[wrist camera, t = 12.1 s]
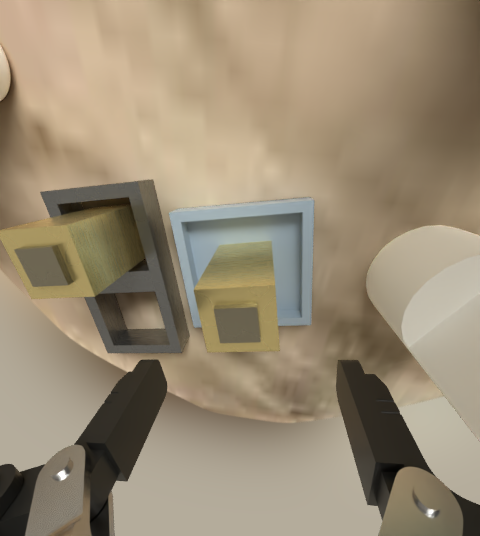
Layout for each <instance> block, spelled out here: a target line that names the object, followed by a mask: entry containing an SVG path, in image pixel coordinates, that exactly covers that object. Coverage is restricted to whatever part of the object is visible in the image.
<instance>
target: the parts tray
mask: <svg viewBox="0 0 480 536" xmlns="http://www.w3.org/2000/svg"><path fill="white" fill-rule="evenodd" d="M169 216H170V220H171V225H172V230H173V234H174V239H175V243H176V248H177V252H178V257H179V261H180V266H181V271H182V275H183V280H184V284H185V289H186V293H187V298H188V303H189V307H190V312H191V316H192V321H193V325H194V327H202V326H201V321H200V317H199V312H198V308H197V304H196V299H195V295H194V288H195V286H196V285H197V283H198V281H199V279H200V278H201V276H202V274H203V272H204V271H205V269H206V267H207V266H208V264H209V262H210V260H211V259H212V257H213V255H214V253H215V252H216V250H217V248H218V246H219V245H225V244H236V243H248V242H260V241H272V252H273V264H274V276H275V288H276V303H277V318H278V326H292V325H311V310H312V269H313V229H314V200H313V199H312V198H311V197H304V198H293V199H282V200H271V201H260V202H249V203H237V204H226V205H215V206H204V207H193V208H182V209H176V210H174V211H172V212H170V213H169Z"/></svg>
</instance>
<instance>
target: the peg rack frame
mask: <svg viewBox="0 0 480 536" xmlns="http://www.w3.org/2000/svg"><path fill="white" fill-rule="evenodd" d="M40 193H41V195H42V198H43V200H44V203H45V205H46V207H47V210H48V212H49V214H50V217H56V216H60V215H64V214H68V213H72V212H76V211H80V210H84V208H83V206H82V203H81V202H85V201H95V200H105V199H115V198H125V197H129V200H130V203H131V207H132V210H133V214H134V218H135V221H136V225H137V228H138V232H139V235H140V239H141V243H142V246H143V250H144V253H145V257H146V260H147V261H141V262H139V263H138V264H137V265H135V266H134V267H133V268H131V269H130V270H129V271H128V272H126V273H125V274H124V275H122V276H121V277H120V278H118V279H117V280H116V281H115V282H113V283H112V284H111V285H109V286H108V287H107V288H105V289H104V290H103V291H102V292H100V293H99V294H98V295H96V296H95V297H84V298H85V300H86V302H87V305H88V307H89V309H90V312H91V314H92V317H93V319H94V321H95V324H96V326H97V328H98V331H99V333H100V336H101V338H102V340H103V343H104V345H105V347H106V350H107V352H108V353H182V351H183V349H184V347H185V345H186V342H187V340H188V338H189V332H188V328H187V323H186V319H185V315H184V311H183V306H182V302H181V298H180V293H179V289H178V285H177V281H176V276H175V272H174V268H173V263H172V259H171V255H170V250H169V246H168V242H167V238H166V233H165V229H164V225H163V220H162V216H161V212H160V208H159V203H158V199H157V195H156V190H155V186H154V182H153V180H144V181H135V182H125V183H116V184H107V185H98V186H89V187H80V188H70V189H61V190H53V191H45V192H40ZM152 291H155V293H156V296H157V300H158V303H159V307H160V311H161V314H162V318H163V321H164V325H165V329H133V330H127V328H126V325H125V322H124V320H123V317H122V314H121V311H120V308H119V306H118V303H117V300H116V297H115V295H114V293H128V292H152Z"/></svg>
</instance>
